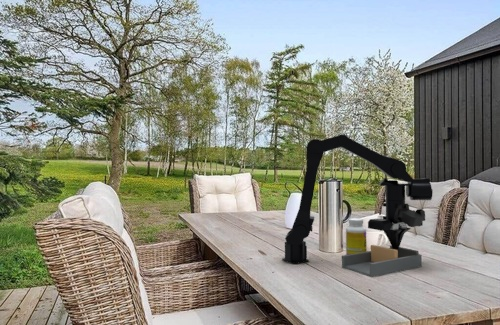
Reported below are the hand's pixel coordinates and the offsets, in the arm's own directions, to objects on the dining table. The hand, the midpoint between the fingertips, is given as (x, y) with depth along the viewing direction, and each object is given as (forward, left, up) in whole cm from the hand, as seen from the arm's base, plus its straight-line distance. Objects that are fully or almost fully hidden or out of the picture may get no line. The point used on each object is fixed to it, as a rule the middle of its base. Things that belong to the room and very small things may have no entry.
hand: (395, 250), depth 122 cm
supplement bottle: (-4, +13, -5) cm, 14 cm away
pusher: (-6, 0, -3) cm, 6 cm away
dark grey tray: (-6, 0, -4) cm, 8 cm away
